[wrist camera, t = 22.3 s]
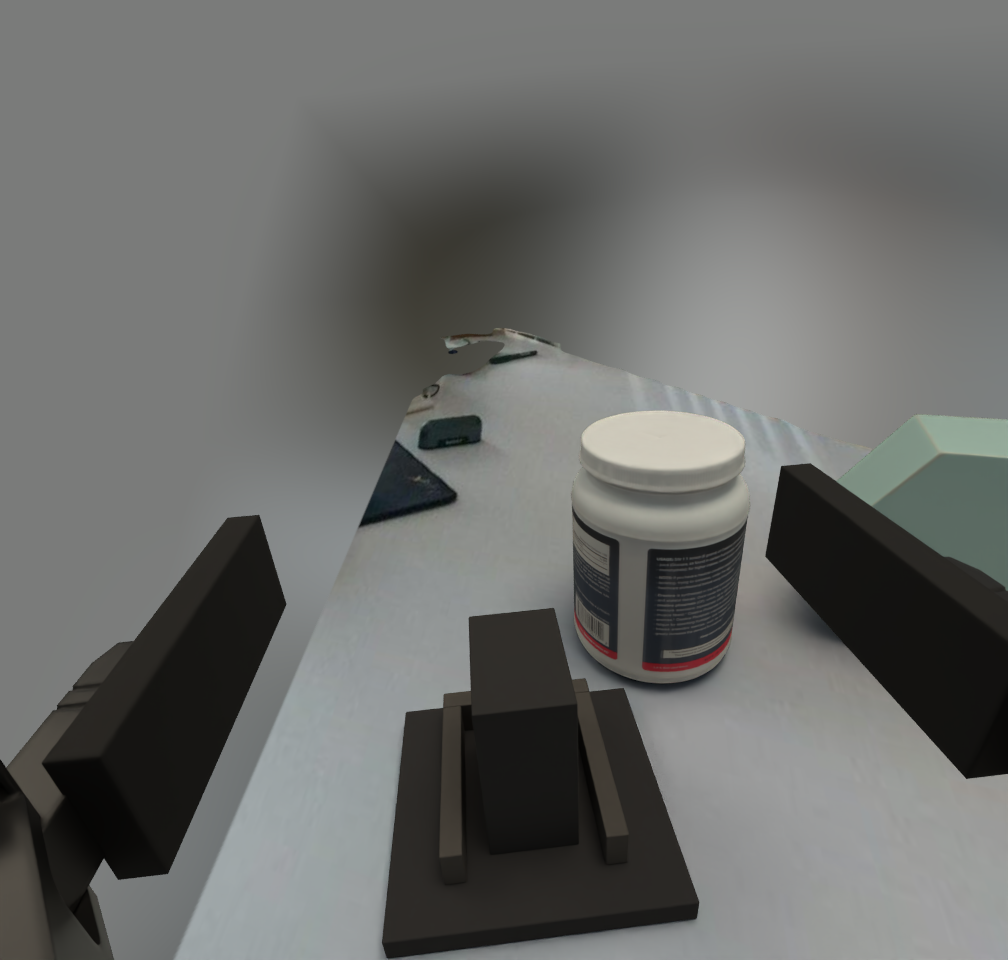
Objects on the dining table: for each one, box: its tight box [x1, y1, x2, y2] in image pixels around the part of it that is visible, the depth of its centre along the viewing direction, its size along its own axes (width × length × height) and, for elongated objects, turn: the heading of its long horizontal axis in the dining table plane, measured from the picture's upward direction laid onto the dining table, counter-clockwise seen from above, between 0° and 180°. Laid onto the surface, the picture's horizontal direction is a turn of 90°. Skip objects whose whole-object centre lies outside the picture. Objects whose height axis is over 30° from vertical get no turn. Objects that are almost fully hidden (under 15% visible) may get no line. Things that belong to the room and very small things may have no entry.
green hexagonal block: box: [836, 414, 1008, 591], centre depth 41 cm, size 17×8×21 cm, turn 65°
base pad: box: [382, 679, 699, 958], centre depth 33 cm, size 16×14×4 cm
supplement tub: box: [571, 411, 750, 683], centre depth 43 cm, size 13×13×18 cm
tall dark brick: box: [469, 608, 579, 855], centre depth 31 cm, size 5×7×11 cm
